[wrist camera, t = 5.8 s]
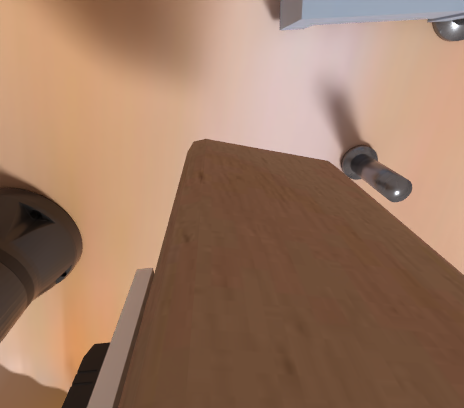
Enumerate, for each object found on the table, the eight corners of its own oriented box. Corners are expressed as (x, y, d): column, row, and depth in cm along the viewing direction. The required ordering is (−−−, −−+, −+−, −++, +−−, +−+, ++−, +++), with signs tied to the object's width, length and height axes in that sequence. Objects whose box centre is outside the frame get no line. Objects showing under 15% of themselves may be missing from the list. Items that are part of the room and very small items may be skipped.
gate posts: (328, 167, 36) (370, 206, 26) (462, -43, 26) (607, -104, 17) (364, 184, 37) (417, 227, 27) (504, -10, 28) (660, -49, 18)
